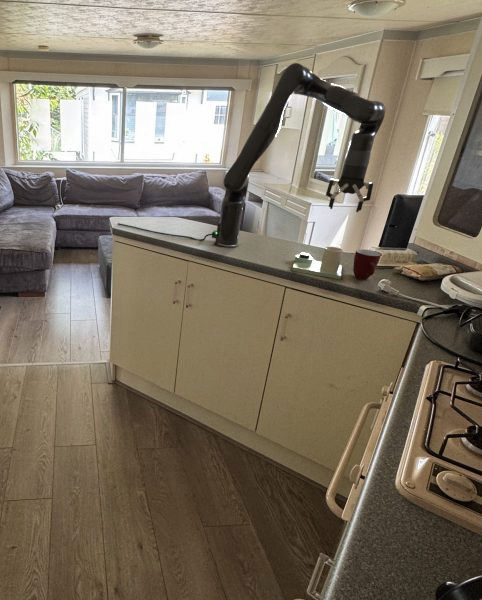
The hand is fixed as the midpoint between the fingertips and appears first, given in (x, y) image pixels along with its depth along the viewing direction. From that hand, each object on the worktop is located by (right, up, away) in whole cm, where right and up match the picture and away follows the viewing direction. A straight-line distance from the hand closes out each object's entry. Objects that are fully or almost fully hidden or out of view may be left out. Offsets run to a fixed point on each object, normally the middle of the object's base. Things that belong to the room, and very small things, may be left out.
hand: (343, 210), depth 156 cm
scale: (-4, -21, +12) cm, 24 cm away
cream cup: (-1, -21, +9) cm, 23 cm away
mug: (+9, -25, +4) cm, 27 cm away
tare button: (-7, -16, +17) cm, 24 cm away
